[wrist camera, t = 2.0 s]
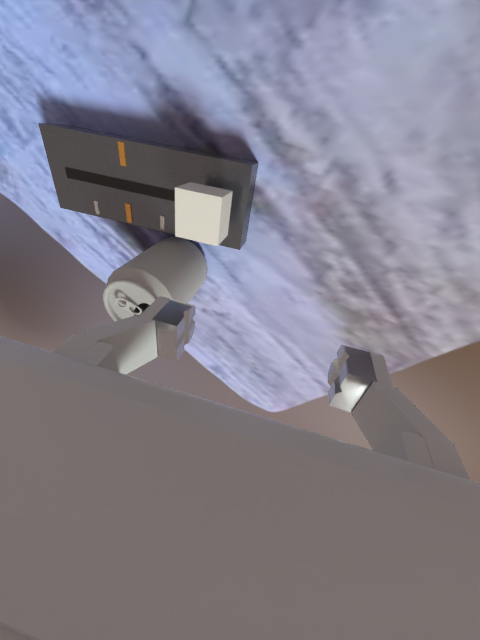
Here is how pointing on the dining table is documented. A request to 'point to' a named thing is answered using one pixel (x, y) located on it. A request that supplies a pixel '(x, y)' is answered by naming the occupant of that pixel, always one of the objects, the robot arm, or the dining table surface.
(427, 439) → the robot arm
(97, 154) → the fader panel
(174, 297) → the can
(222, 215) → the fader knob
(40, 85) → the dining table surface
